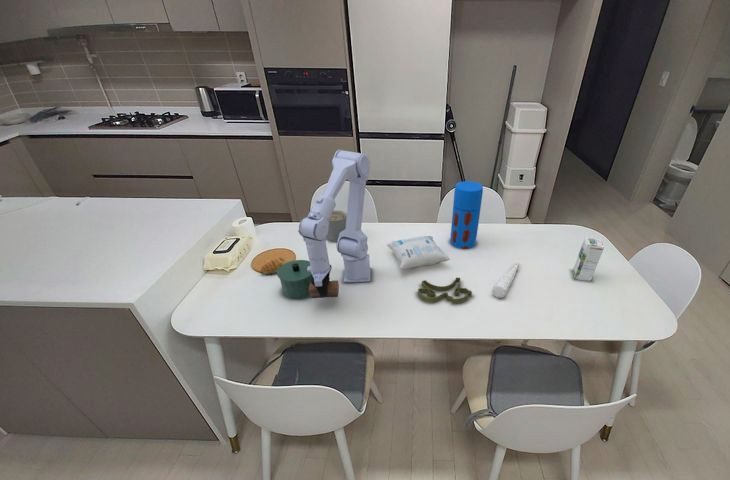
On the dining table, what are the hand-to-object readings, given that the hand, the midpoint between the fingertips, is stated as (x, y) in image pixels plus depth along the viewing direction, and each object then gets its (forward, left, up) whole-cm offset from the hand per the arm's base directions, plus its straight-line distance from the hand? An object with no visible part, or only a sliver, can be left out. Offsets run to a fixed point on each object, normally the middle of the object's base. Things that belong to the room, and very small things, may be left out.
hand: (324, 290), depth 114 cm
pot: (+10, -9, -5) cm, 14 cm away
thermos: (-54, -36, -6) cm, 65 cm away
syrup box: (-93, -8, -6) cm, 94 cm away
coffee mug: (-2, -46, -6) cm, 46 cm away
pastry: (+21, -22, -6) cm, 31 cm away
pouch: (-33, -24, -6) cm, 41 cm away
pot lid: (+10, -9, +2) cm, 14 cm away
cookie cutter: (-40, -2, -6) cm, 40 cm away
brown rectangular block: (0, 0, -1) cm, 1 cm away
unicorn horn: (-64, -7, -6) cm, 65 cm away
